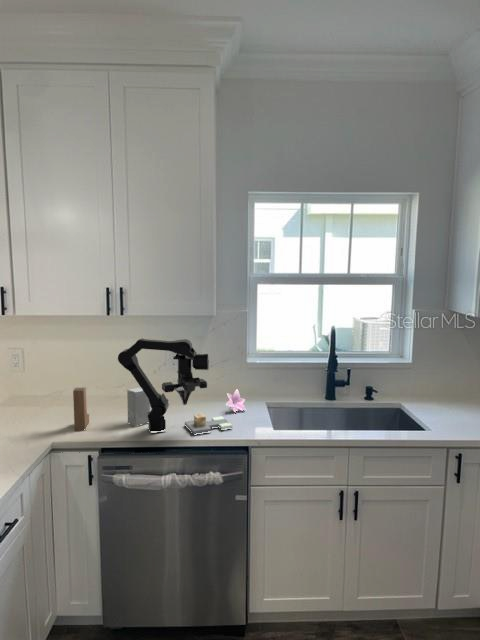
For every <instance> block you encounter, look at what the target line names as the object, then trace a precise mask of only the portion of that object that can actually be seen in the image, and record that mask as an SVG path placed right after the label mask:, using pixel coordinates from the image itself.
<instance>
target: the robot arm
mask: <svg viewBox="0 0 480 640" xmlns="http://www.w3.org/2000/svg"><path fill="white" fill-rule="evenodd" d="M141 350H151V351H167V352H172V353H174V354H175V356H173V360H177V371H176V373H177V380H176V382H177V383H173V382H171V381H169V382H163V383H162V384H161V390H162V391H163V392H164V393H173V392H174V391H176V392H177V393H178V395H179V397H180V400H181V403H182V405H183V406H186V405H188V401H189V398H190V396H191V394H192V393H193V392H195V391H196V387H198V388H200V389H207V388H208V382H207V381H206V380H205V379H204V378H200V377H199V376H198V377H194V376H193V372H192V368H193V369H195V370H196V371H197V370H198V371H200V370H201V371H205V370H206V371H208V370H209V369H210V368H209V367H210V359H209V354H208V353H197V352H196V350H195V348H194V347H193V343H192V342H191V341H190V340H189V339H186V338H184V339H176V340H158V339H146V338H139V339H138V340H137V341H136V342H134V343H133V345H131V346H130V347H129V348H125V349H124V350H122V351H121V352H120V353H119V354H118V355H117V361H118V363H119V364H120V365H121V366H122V367H123V368H125V369H126V370H127V371H128V372H129V373H130V374H131V375H132V376H133V378H134V379H135V381H136V383H137V384H138V385H139V388H142V390H143V391H144V393H145V394H146V396H147V397H148V399H149V402H150V413H149V414H148V420H149V423H148V428H149V430H150V431H161V430H164V429H165V430H166V427H167V425H166V419H165V416H164V415H165V414H166V412H167V410H168V409H169V407H170V404H169V399H168V398H167V397H166V395H165V394H164V393H163V392H162V394H160V393H159V392H158V391H157V390H156V388H155V386H153V384H152V383H151V381H150V379H149V378H148V376H147V374H145V372H144V370H143V369H142V367H141V366H140V363H139V359H138V357H137V354H138V353H139V352H141ZM149 430H148V431H149Z"/></svg>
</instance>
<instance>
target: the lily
mask: <svg viewBox="0 0 480 640" xmlns="http://www.w3.org/2000/svg"><path fill="white" fill-rule="evenodd" d="M226 395H227V397H228V399H229V400H228V401H227V402H226V403H225V406H227V407H230V408H229V409H231V408H232V409H233V413H234V412H236V411H237V412H238V410H240V411H242V412H244V411H243V410H246V411H247V409H246V406H245V405H244V402H245V401H246V398H242V397H241V395H240V391H239V389H235V391H234V393H233V394H231V393H228V392H227V393H226Z"/></svg>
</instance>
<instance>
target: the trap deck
mask: <svg viewBox="0 0 480 640" xmlns="http://www.w3.org/2000/svg"><path fill="white" fill-rule="evenodd" d="M185 425H186V426H187V427H188V428H189V429H190V430H191V432H192V433H193V434H196V433H202V432H208V431H211V432H212V430H211V428H212V427H218V426H219V427H220V428H221V429H225V428H232V429H233V424H232V423H230V422H229V420H227V419H226V418H225V417H223V416H222V415H221V416H215V417H211V420H208V421H207V420H206V426H200V427H197V426H196V425H195V424H194V419H193V420H188V421H186V420H185V421H184V426H185ZM191 432H190V433H191ZM192 433H191V434H192ZM193 434H192V435H193Z"/></svg>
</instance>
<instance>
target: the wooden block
mask: <svg viewBox="0 0 480 640" xmlns="http://www.w3.org/2000/svg"><path fill="white" fill-rule="evenodd" d="M72 392H73V393H72V394H73V396H72V397H73V398H72V399H73V421H74V423H73V425H74V431H75V430H78V431H85V430H86V429H87V428H88V426H89V424H90V413H88V411H87V408H88V407H87V388H86V387H75V388H74V390H73V391H72ZM87 425H88V426H87ZM86 427H87V428H86ZM84 429H85V430H84Z"/></svg>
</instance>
